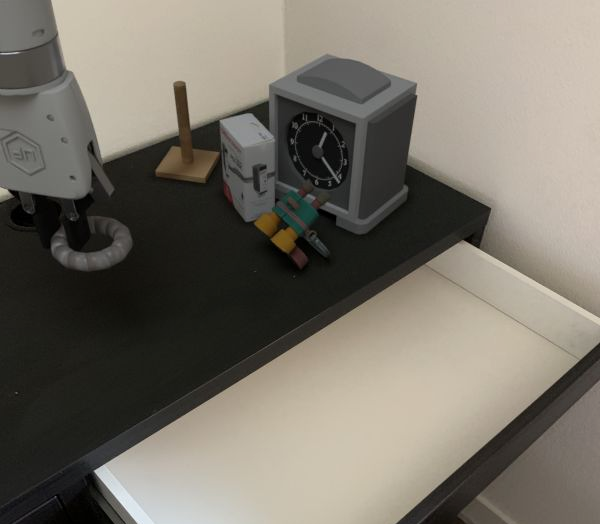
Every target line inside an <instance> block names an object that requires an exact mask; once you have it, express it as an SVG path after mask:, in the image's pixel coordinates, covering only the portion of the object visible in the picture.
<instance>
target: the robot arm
mask: <svg viewBox="0 0 600 524" xmlns="http://www.w3.org/2000/svg"><path fill="white" fill-rule="evenodd" d="M85 99H86V98H85V96H84V94H83V92H82V89H81V87H80V84H79V82H78V80H77V78H76V75H75V74H74V72H73V71H72V70H68V69H67V66H66V61H65V57H64V52H63V47H62V43H61V39H60V34H59V30H58V26H57V21H56V15H55V11H54V7H53V2H52V0H0V188H1V189H4V190H7V192H8V193H9V194H10V195H12V196H13V197H14V198H15V199H16V200H17V201H18V202H20V203H21V205H22V208H23V210H24V212H25V213H27V214H29V215H31V218H32V221H33V224H34V227H35V230H36V234H37V235H38V237H39V240H40V244H41V246H42V249H44V250H51V238H52V237H53V236H54V234H55V233H56V232H57V230H58V229H59V228H60V227H61V226H62V225H63V226H64V230H65V234H66V237H67V241H68V245H69V247H70V248H71V249H72V250H74V251H77V252H82V250H83V248H84V247H85V245H86V244H87V243H88V242H89V241H90V240H91V236H92V234H91V232H90V228H89V223H88V219H87V217H88V216H87V212H86V211H87V210H89V208H90V207H91V206H92V205H98V204H101V203H103V202H108V201H109V200H111V198H112V197H113V195H114V194H115V192H116V189H115V187H114V185H113V183H112V182H111V180H110V179H109V178H108V176H107V174H106V172H105V171H104V166H103V165H104V164H103V158H102V154H101V149H100V145H99V142H98V141H99V140H98V137H97V134H96V129H95V126H94V123H93V120H92V117H91V114H90V111H89V107H88V105H87V102H86V100H85ZM48 197H52V198H48ZM53 198H56V199H57V198H58V199H60V200H61V204H62V207H63V210H64V213H65V217H64V218H63V219H62V224H61V220H60V217H59V213H58V210H57V207H56V203H55V202H54V199H53Z"/></svg>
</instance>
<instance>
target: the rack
mask: <svg viewBox="0 0 600 524" xmlns="http://www.w3.org/2000/svg"><path fill="white" fill-rule="evenodd" d="M172 86H173V87H172V88H173V95H174V103H175V111H176V121H177V129H178V137H179V145H180V146H175V145H172V146H171V147H170V149H169V150H168V151H167V153H166V154H165V156H164V157H163V158H162V160H161V162H160V163H159V164H158V166H157V168H156V169H155V171H154V172H155V173H154V174H155V177H156V178H163V179H170V180H171V179H172V180H178V181H185V182H193V183H199V184H207V181H208V180H209V178H210V176H211V174H212V173H213V171H214V170H215V168H216V166H217V164H218V163H219V161H220V159H221V152H220V151H214V150H205V149H197V148H193V140H192V139H193V137H192V130H191V120H190V111H189V100H188V90H187V83H186V82H185V81H183V80H176V81H174V82H173V83H172Z"/></svg>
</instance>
